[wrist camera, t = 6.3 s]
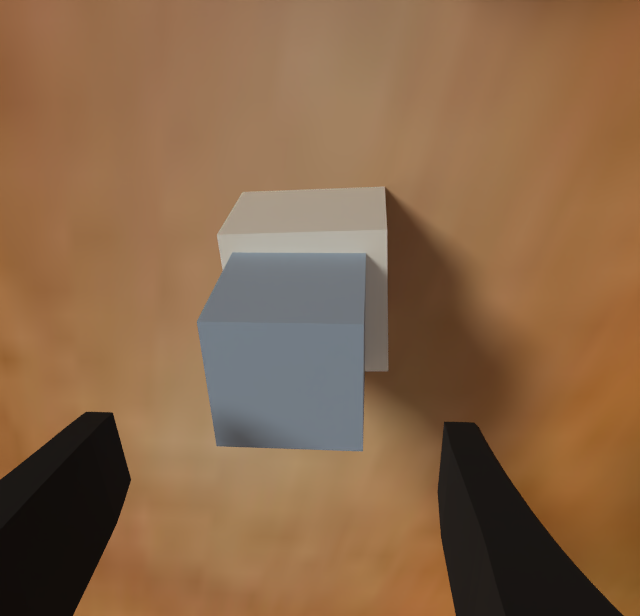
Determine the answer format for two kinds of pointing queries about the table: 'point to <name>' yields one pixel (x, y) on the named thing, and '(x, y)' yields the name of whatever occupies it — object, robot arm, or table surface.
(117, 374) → the table surface
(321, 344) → the blue cube
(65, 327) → the table surface
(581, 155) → the table surface
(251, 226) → the cream block
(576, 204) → the table surface
